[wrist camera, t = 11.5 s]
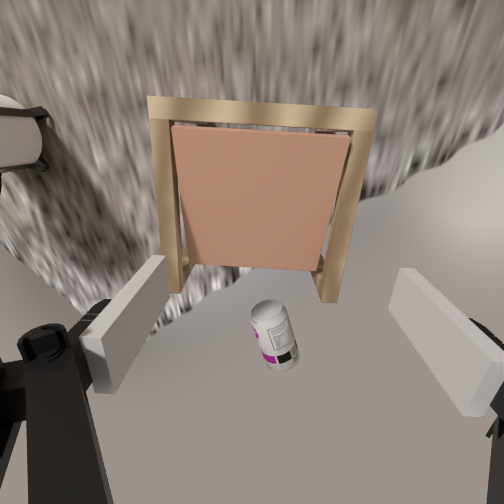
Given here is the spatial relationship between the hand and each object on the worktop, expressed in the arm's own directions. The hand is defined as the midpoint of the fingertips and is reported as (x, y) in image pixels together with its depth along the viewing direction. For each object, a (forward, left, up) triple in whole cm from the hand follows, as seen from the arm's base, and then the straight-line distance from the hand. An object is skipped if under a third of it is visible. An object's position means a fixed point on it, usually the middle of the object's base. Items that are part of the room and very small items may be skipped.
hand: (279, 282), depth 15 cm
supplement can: (-7, +42, -35) cm, 55 cm away
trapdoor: (+2, 0, -21) cm, 21 cm away
